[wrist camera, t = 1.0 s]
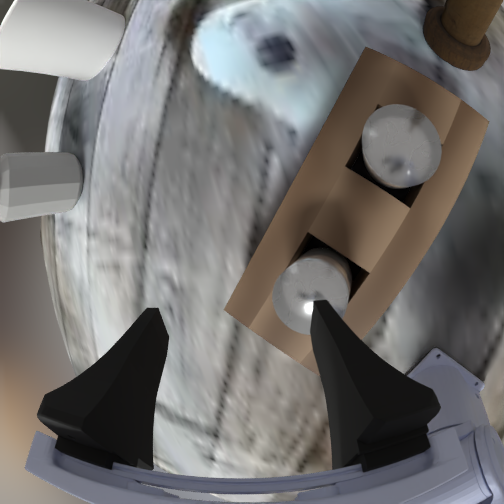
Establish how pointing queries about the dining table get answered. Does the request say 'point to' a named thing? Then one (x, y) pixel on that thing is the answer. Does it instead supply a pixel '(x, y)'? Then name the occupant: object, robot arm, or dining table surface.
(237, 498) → the dining table surface
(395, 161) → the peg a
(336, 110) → the walnut frame
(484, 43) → the dark brown tall piece
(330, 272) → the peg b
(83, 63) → the canister
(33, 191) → the jar
